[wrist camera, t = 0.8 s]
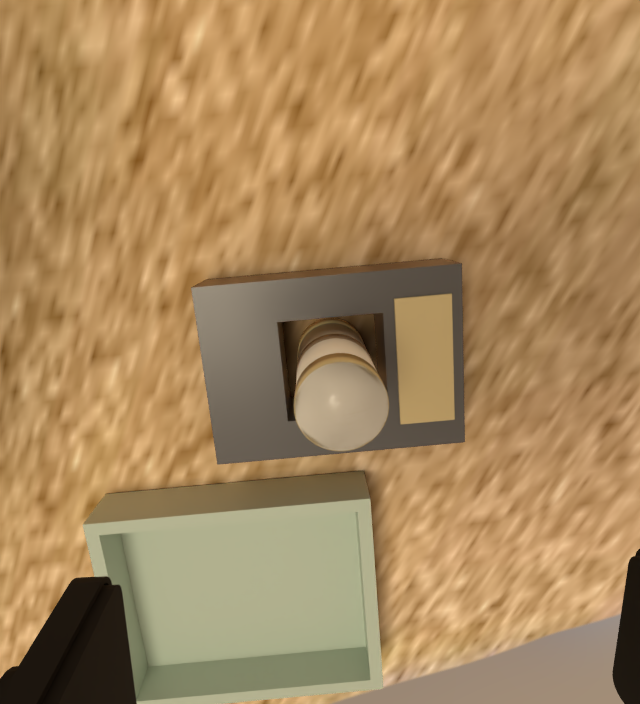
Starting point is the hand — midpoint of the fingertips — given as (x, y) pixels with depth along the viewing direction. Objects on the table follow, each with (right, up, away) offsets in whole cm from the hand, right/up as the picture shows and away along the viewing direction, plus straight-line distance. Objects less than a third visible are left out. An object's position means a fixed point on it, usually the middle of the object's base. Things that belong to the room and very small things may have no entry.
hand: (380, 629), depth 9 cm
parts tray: (-6, -10, +26) cm, 28 cm away
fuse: (0, +5, +22) cm, 23 cm away
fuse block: (0, +5, +22) cm, 23 cm away
